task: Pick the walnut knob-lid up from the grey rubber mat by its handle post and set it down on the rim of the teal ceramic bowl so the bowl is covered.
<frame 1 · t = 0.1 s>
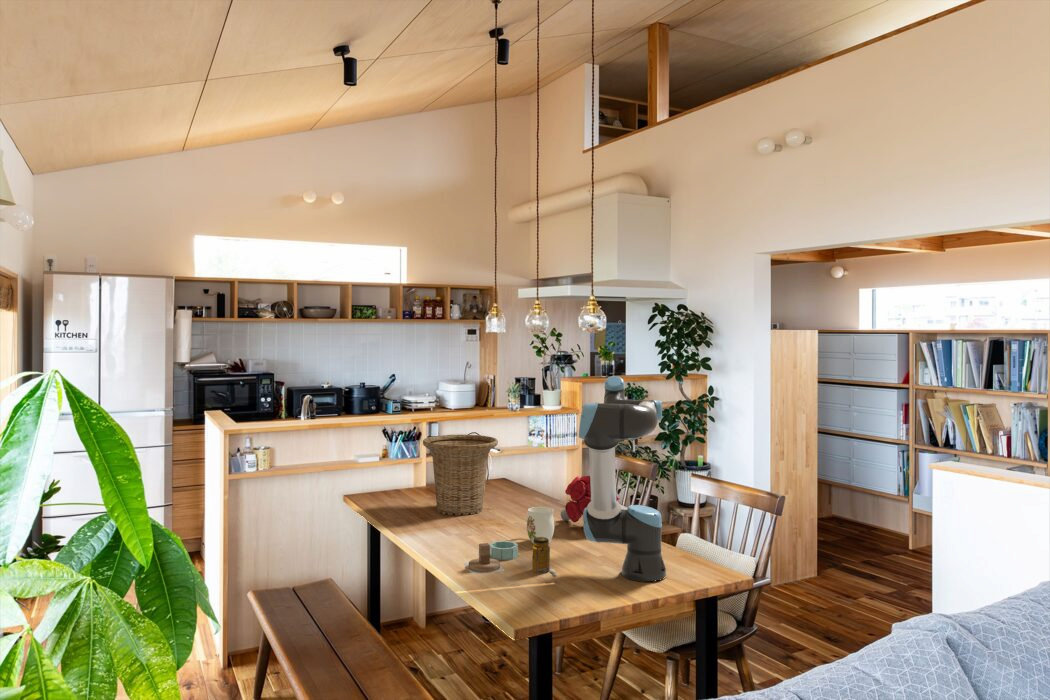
hand: (617, 448, 301), 36 cm above the table, tool tilted 35°, fingers open, 13 cm apart
bouquet: (588, 527, 315), on the table
mat: (484, 569, 257), on the table
bowl: (503, 558, 270), on the table
lid: (484, 567, 257), point 1 cm above the table, touching mat
pitcher: (539, 542, 291), on the table
condiment: (543, 573, 254), on the table
wicker basket: (459, 510, 342), on the table
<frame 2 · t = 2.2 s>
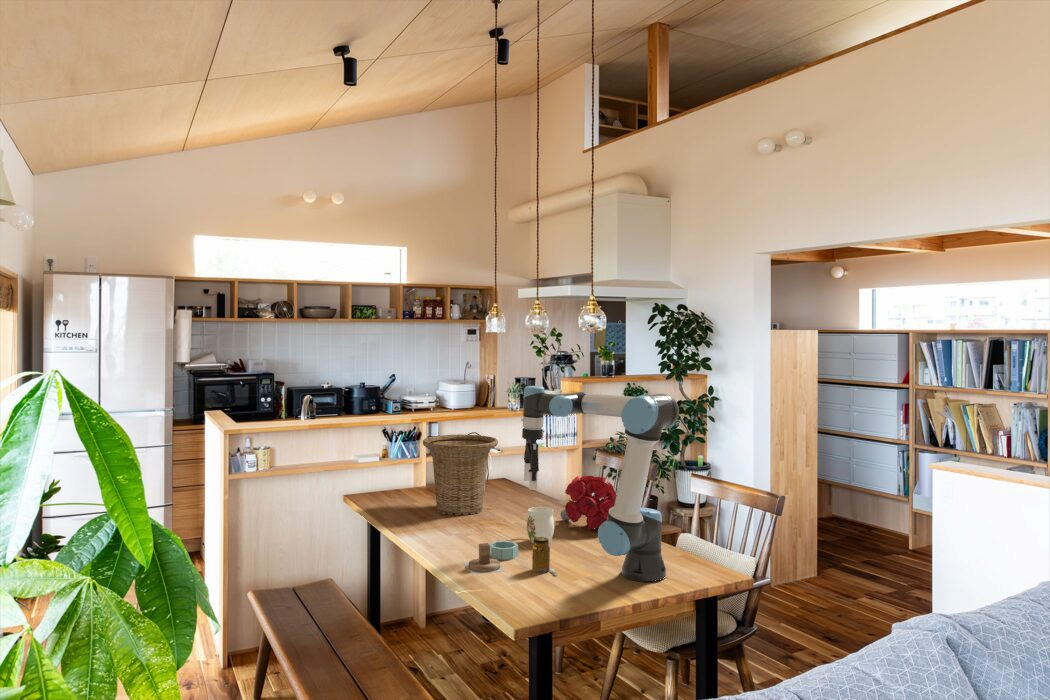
hand: (530, 484, 270), 27 cm above the table, tool pointing down, fingers open, 13 cm apart
nothing on the table moved.
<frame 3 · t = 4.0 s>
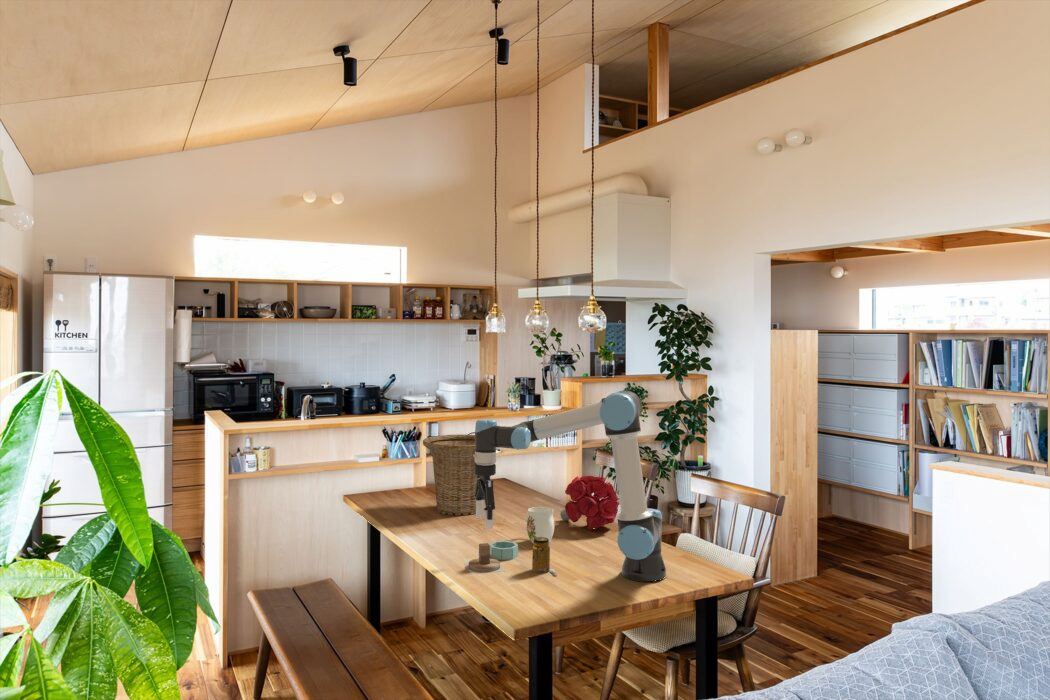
hand: (484, 523, 256), 16 cm above the table, tool pointing down, fingers open, 13 cm apart
nothing on the table moved.
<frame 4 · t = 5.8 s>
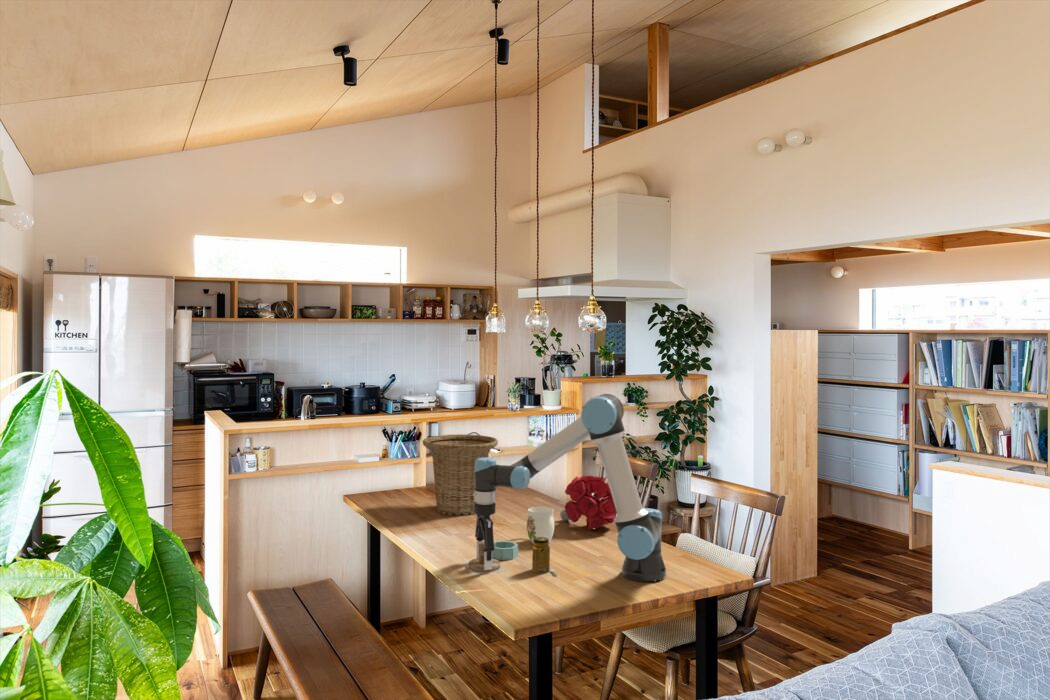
hand: (484, 564, 257), 2 cm above the table, tool pointing down, fingers closed on lid, 11 cm apart
lid: (484, 567, 257), point 1 cm above the table, touching gripper, mat
everything else where it was.
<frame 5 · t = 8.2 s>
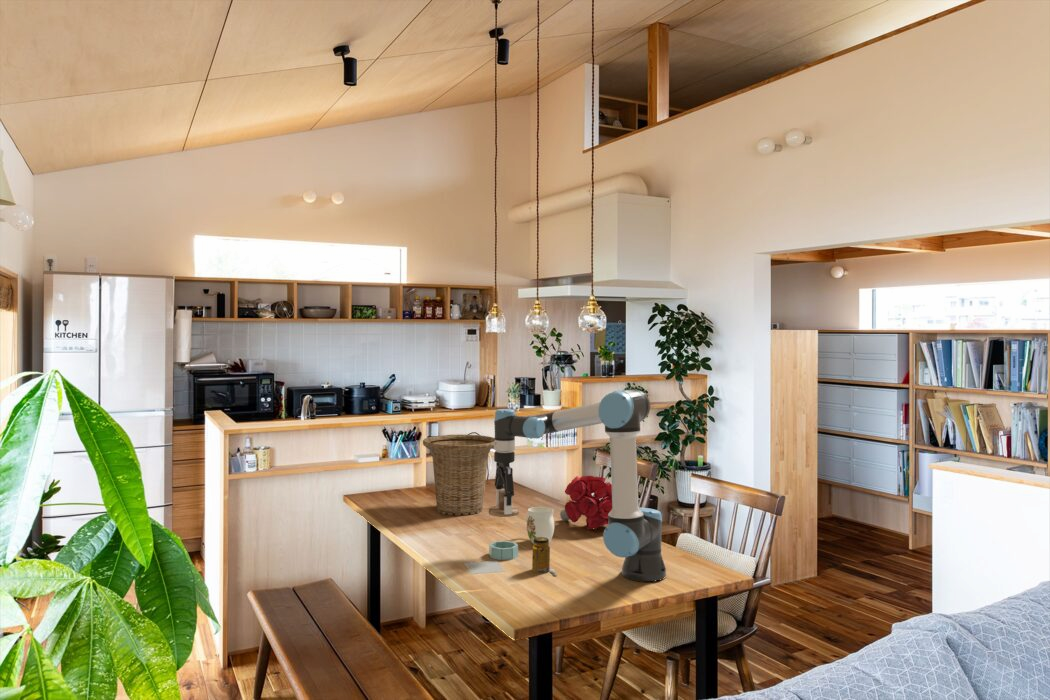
hand: (503, 510, 270), 18 cm above the table, tool pointing down, fingers closed on lid, 11 cm apart
lid: (503, 513, 270), point 17 cm above the table, touching gripper
everything else where it was.
when the fingers open (7 cm above the table, at t = 10.7 s): lid drops 1 cm, resting on bowl.
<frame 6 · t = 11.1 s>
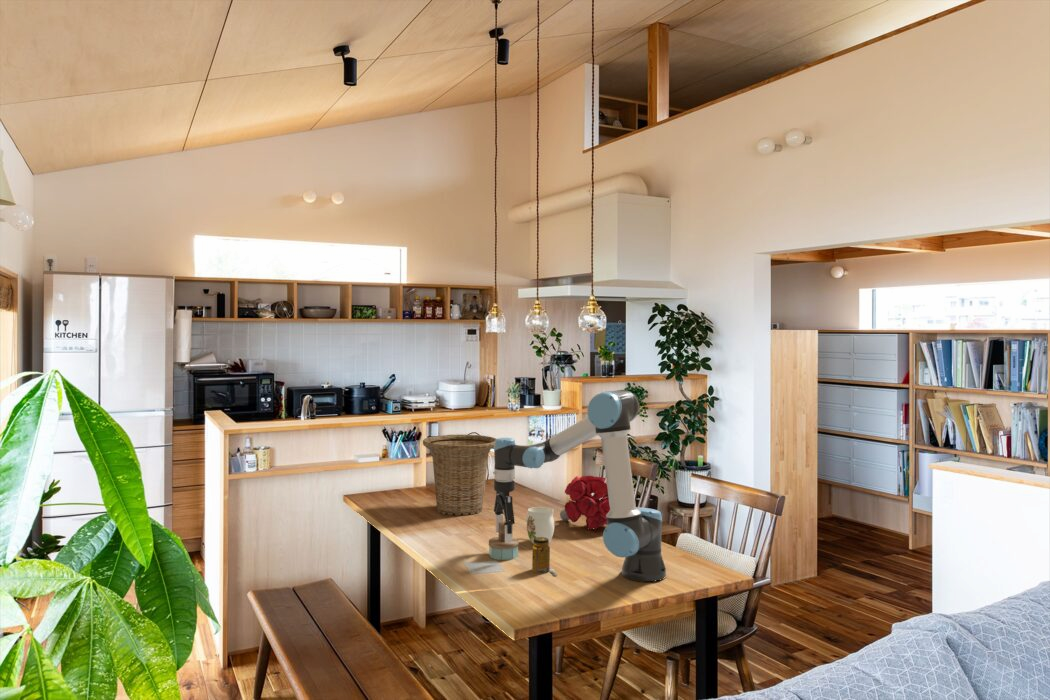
hand: (503, 537, 270), 8 cm above the table, tool pointing down, fingers open, 13 cm apart
bowl: (503, 558, 270), on the table, touching lid
lid: (503, 544, 270), point 5 cm above the table, touching bowl
everything else where it was.
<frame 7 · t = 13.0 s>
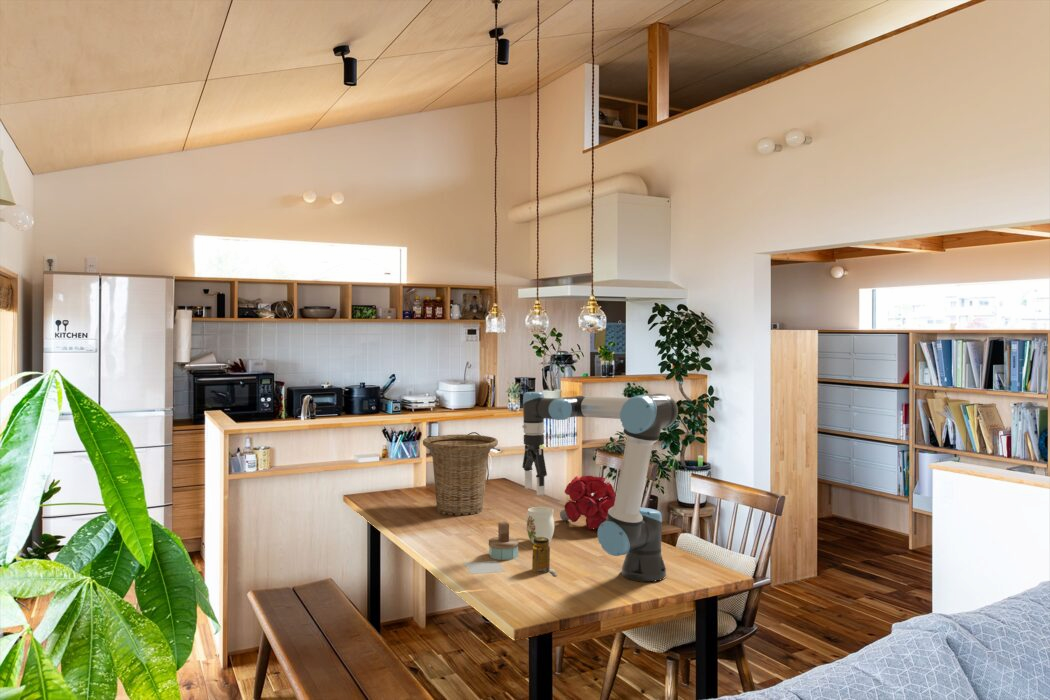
hand: (534, 491, 269), 25 cm above the table, tool pointing down, fingers open, 13 cm apart
nothing on the table moved.
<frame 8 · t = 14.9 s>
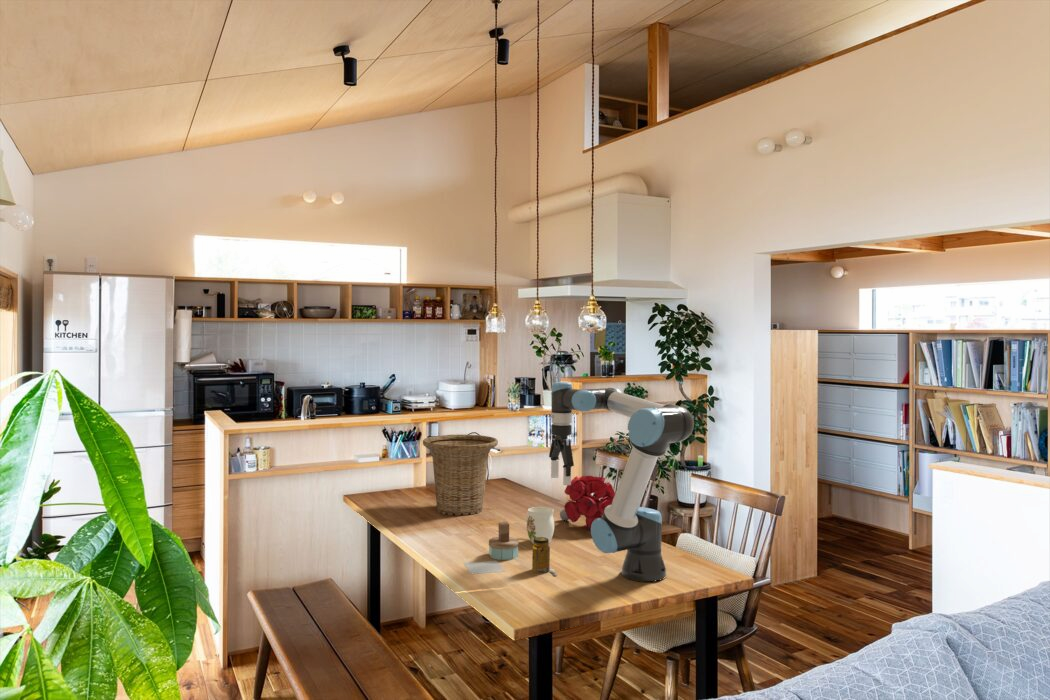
hand: (560, 481, 269), 29 cm above the table, tool pointing down, fingers open, 13 cm apart
nothing on the table moved.
at the end: lid 0.0 cm off-centre on the bowl, point 5.0 cm above the bowl's base; lid tilted 0°; the gripper is holding nothing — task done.
